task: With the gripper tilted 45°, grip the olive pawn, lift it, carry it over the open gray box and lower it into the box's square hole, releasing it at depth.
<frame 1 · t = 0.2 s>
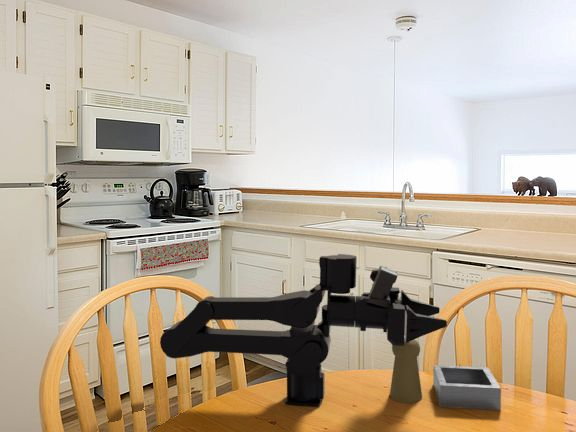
hand: (442, 316, 92), 17 cm above the table, tool horizontal, fingers open, 9 cm apart
open gray box: (464, 396, 97), on the table
olive pawn: (405, 396, 98), on the table
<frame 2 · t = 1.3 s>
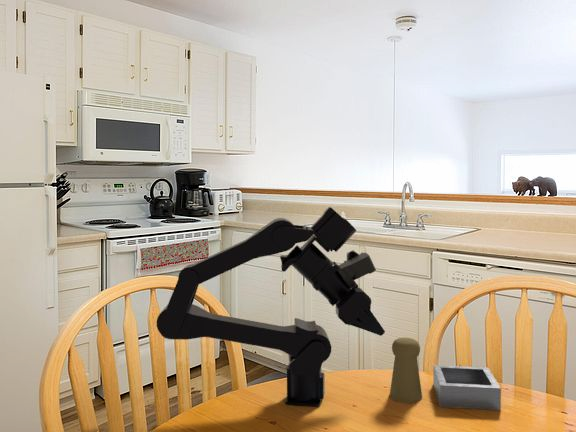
hand: (377, 326, 97), 14 cm above the table, tool tilted 45°, fingers open, 9 cm apart
nothing on the table moved.
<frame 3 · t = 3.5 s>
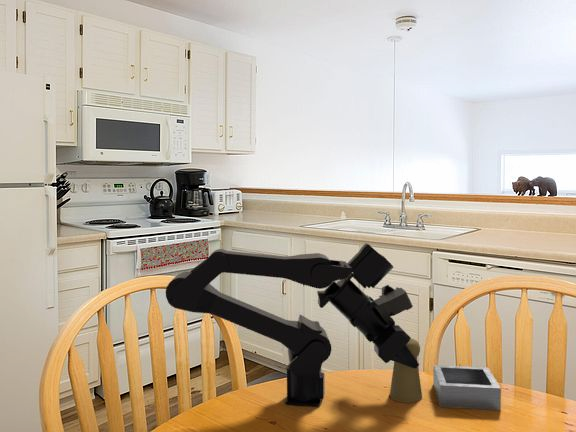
hand: (413, 361, 98), 7 cm above the table, tool tilted 45°, fingers closed on olive pawn, 5 cm apart
olive pawn: (405, 396, 98), on the table, touching gripper
when the fingers open (8 cm above the table, at t = 7.3 s): olive pawn drops 1 cm, resting in open gray box.
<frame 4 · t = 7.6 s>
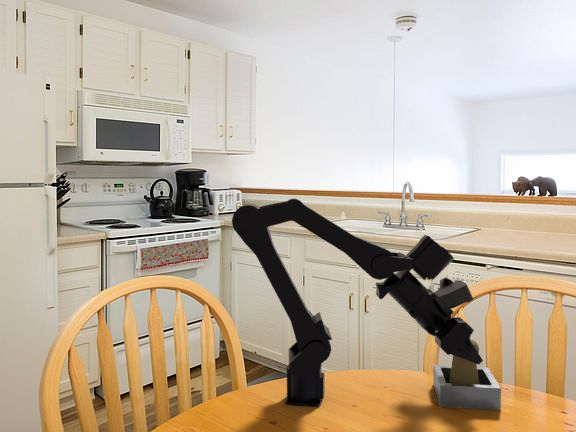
hand: (472, 354, 97), 8 cm above the table, tool tilted 45°, fingers open, 8 cm apart
olive pawn: (463, 397, 97), resting in open gray box
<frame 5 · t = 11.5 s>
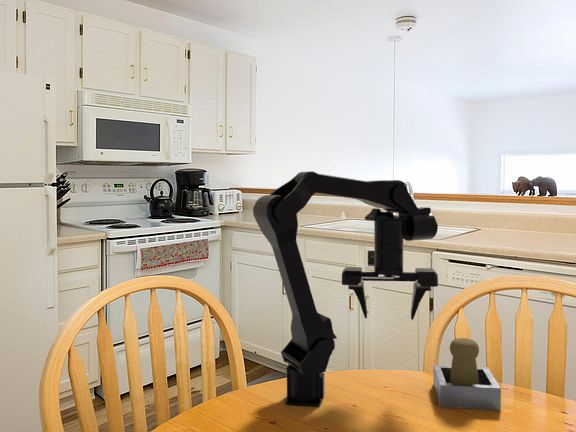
hand: (388, 318, 105), 13 cm above the table, tool pointing down, fingers open, 9 cm apart
nothing on the table moved.
at the end: olive pawn 0.2 cm off-centre on the open gray box, point 0.0 cm above the open gray box's base; olive pawn tilted 0°; the gripper is holding nothing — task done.
